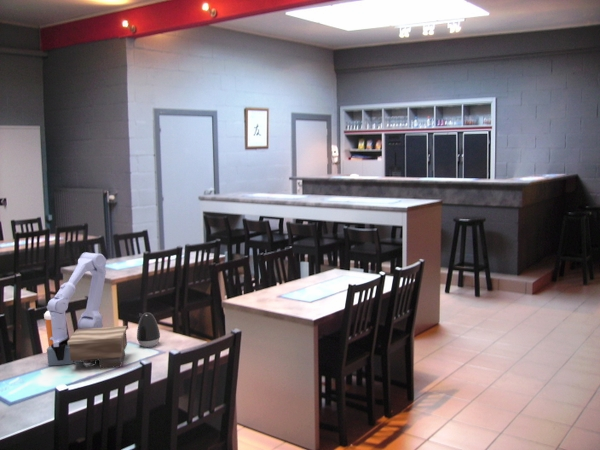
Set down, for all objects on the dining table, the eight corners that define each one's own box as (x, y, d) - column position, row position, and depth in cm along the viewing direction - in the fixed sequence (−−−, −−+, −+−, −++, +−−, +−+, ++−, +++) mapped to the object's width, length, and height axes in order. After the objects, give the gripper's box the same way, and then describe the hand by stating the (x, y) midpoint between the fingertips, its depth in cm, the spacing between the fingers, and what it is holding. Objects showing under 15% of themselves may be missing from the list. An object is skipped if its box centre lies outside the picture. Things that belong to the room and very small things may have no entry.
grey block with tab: (50, 362, 263) (49, 346, 262) (102, 358, 266) (100, 342, 265) (48, 365, 259) (46, 349, 258) (100, 361, 262) (99, 345, 261)
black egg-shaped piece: (150, 340, 289) (147, 308, 287) (165, 344, 283) (163, 311, 281) (132, 346, 281) (130, 313, 279) (147, 350, 275) (145, 317, 273)
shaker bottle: (48, 355, 273) (44, 311, 270) (46, 350, 281) (42, 306, 278) (69, 351, 277) (66, 308, 274) (67, 346, 285) (63, 303, 282)
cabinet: (78, 358, 268) (76, 329, 267) (128, 354, 271) (126, 325, 269) (70, 372, 251) (67, 341, 250) (123, 367, 254) (121, 337, 253)
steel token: (84, 362, 263) (84, 359, 263) (96, 361, 263) (96, 358, 263) (82, 366, 258) (81, 363, 258) (94, 365, 259) (94, 362, 258)
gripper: (53, 322, 266) (56, 353, 268) (44, 332, 252) (47, 364, 254) (70, 321, 267) (73, 352, 269) (62, 331, 253) (65, 363, 255)
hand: (61, 358), depth 261 cm, fingers closed on grey block with tab, 4 cm apart
